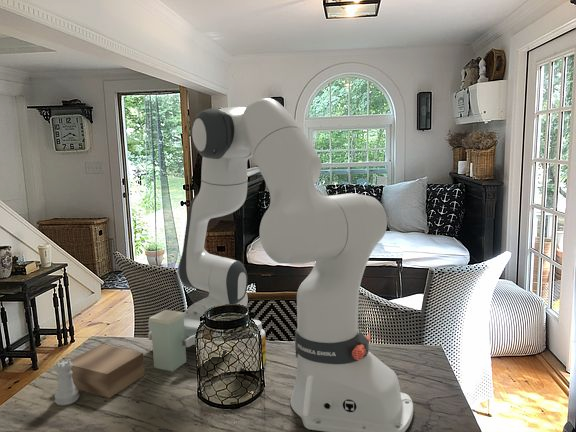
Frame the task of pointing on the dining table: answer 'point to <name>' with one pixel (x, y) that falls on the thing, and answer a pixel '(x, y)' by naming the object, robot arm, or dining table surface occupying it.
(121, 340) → the dining table surface
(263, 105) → the robot arm
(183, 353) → the sage tin
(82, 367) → the walnut block
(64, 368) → the rook chess piece
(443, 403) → the dining table surface
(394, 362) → the dining table surface
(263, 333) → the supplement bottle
